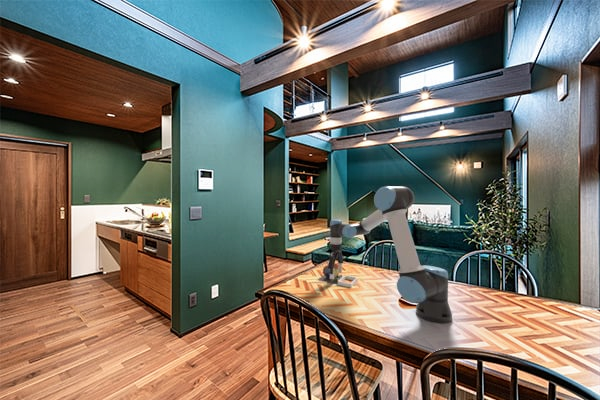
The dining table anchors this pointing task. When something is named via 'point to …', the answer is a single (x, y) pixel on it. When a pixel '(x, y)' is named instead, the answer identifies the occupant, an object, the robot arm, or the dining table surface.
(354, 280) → the tray
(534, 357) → the dining table surface
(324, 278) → the pulley block
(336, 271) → the lock pin
